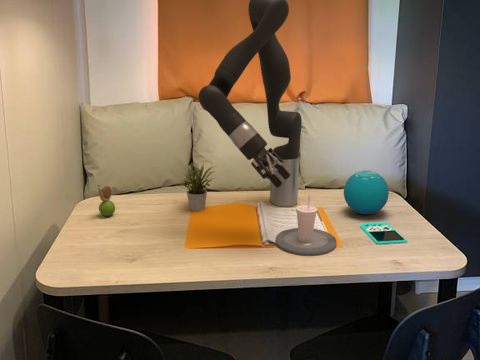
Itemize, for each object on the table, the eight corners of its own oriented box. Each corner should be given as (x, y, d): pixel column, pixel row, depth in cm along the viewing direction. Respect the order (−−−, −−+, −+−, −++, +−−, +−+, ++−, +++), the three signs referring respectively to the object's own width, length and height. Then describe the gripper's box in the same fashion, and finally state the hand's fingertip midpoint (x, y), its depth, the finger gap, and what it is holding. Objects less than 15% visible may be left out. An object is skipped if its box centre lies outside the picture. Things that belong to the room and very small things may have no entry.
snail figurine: (94, 218, 185) (91, 184, 181) (105, 212, 191) (103, 178, 187) (107, 220, 183) (105, 185, 179) (118, 214, 189) (116, 180, 185)
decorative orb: (349, 203, 200) (351, 163, 195) (391, 209, 194) (394, 168, 189) (337, 216, 187) (339, 174, 183) (381, 224, 181) (385, 180, 176)
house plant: (228, 206, 196) (228, 162, 191) (205, 218, 185) (205, 171, 180) (196, 199, 203) (195, 156, 199) (172, 210, 192) (170, 165, 187)
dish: (263, 241, 167) (263, 237, 167) (305, 226, 178) (305, 223, 178) (306, 261, 154) (306, 257, 153) (348, 244, 165) (349, 240, 164)
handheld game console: (387, 225, 182) (387, 221, 181) (408, 244, 166) (408, 240, 166) (357, 226, 180) (358, 222, 180) (376, 246, 165) (377, 242, 165)
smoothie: (315, 244, 162) (317, 198, 158) (293, 242, 163) (295, 197, 159) (316, 235, 168) (319, 192, 164) (295, 234, 169) (297, 190, 165)
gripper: (248, 137, 155) (286, 180, 155) (264, 127, 168) (299, 167, 168) (230, 154, 159) (268, 196, 158) (247, 143, 171) (282, 182, 171)
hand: (284, 181), depth 163 cm, fingers open, 8 cm apart
